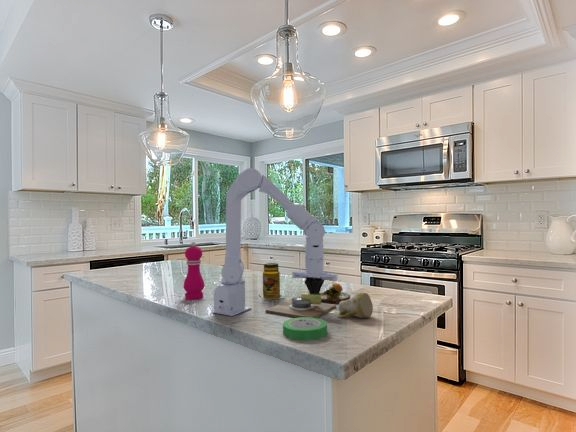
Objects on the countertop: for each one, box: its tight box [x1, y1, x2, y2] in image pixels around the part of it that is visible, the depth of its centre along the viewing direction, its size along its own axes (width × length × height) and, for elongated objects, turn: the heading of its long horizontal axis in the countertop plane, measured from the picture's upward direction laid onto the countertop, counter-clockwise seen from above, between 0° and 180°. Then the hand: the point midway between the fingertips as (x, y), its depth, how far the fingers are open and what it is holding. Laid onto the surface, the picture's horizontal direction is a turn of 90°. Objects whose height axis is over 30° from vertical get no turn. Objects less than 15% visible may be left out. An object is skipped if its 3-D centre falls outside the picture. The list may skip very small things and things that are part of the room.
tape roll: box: [282, 317, 328, 341], centre depth 93 cm, size 11×11×3 cm
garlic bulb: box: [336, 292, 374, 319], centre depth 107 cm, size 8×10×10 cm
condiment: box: [259, 262, 285, 301], centre depth 132 cm, size 7×8×12 cm
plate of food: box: [319, 279, 351, 304], centre depth 127 cm, size 12×12×8 cm
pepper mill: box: [183, 241, 205, 301], centre depth 131 cm, size 7×7×20 cm
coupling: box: [291, 292, 322, 308], centre depth 114 cm, size 9×6×4 cm, turn 82°
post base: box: [265, 298, 337, 319], centre depth 114 cm, size 16×16×1 cm
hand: (314, 301), depth 116 cm, fingers closed
